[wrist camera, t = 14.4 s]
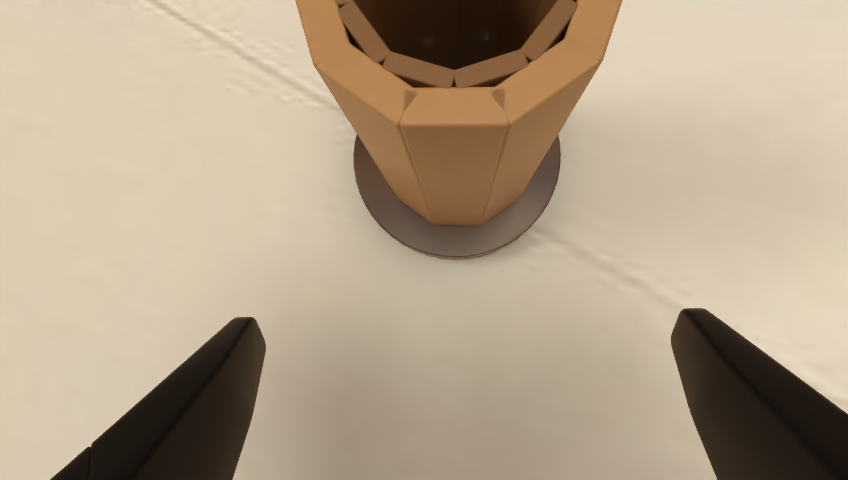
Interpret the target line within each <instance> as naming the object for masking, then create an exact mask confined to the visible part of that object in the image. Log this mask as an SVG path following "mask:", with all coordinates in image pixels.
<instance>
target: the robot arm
mask: <svg viewBox="0 0 848 480" xmlns="http://www.w3.org/2000/svg"><path fill="white" fill-rule="evenodd" d="M671 346H672V349H673V353H674V357H675V360H676V364H677V367H678V371H679V374H680V378H681V381H682V385H683V389H684V392H685V396H686V399H687V403H688V406H689V409H690V412H691V415H692V418H693V421H694V423H695V426H696V428H697V431H698V433H699V436H700V438H701V441H702V443H703V446H704V448H705V450H706V453H707V455H708V458H709V460H710V463H711V465H712V468H713V470H714V472H715V475H716V477H717V480H848V414H847V413H846V412H844V411H843V410H842V409H840V408H839V407H837V406H836V405H835V404H833V403H832V402H831V401H829V400H828V399H827V398H825V397H824V396H823V395H821V394H820V393H819V392H817V391H816V390H814V389H813V388H812V387H810V386H809V385H808V384H806V383H805V382H804V381H802V380H801V379H800V378H798V377H797V376H796V375H794V374H793V373H791V372H790V371H789V370H787V369H786V368H785V367H783V366H782V365H781V364H779V363H778V362H777V361H775V360H774V359H773V358H771V357H770V356H768V355H767V354H766V353H764V352H763V351H762V350H760V349H759V348H758V347H756V346H755V345H754V344H752V343H751V342H750V341H748V340H747V339H746V338H744V337H743V336H741V335H740V334H739V333H737V332H736V331H735V330H733V329H732V328H731V327H729V326H728V325H727V324H725V323H724V322H723V321H721V320H720V319H718V318H717V317H716V316H714V315H713V314H712V313H710V312H709V311H707V310H706V309H702V308H687V309H683V310H682V311H681V312H680V314H679V316H678V319H677V321H676V324H675V327H674V329H673V332H672V335H671ZM265 351H266V344H265V340H264V338H263V335H262V333H261V330H260V328H259V326H258V323H257V321H256V320H255V319H254V318H253V317H237V318H234V319H233V320H231V321H230V322H229V323H228V324H227V325H226V326H224V327H223V328H222V329H221V330H220V331H219V332H218V333H217V334H215V335H214V336H213V337H212V338H211V339H210V340H209V341H207V342H206V343H205V344H204V345H203V346H202V347H201V348H200V349H198V350H197V351H196V352H195V353H194V354H193V355H192V356H190V357H189V358H188V359H187V360H186V361H185V362H184V363H183V364H181V365H180V366H179V367H178V368H177V369H176V370H175V371H173V372H172V373H171V374H170V375H169V376H168V377H167V378H166V379H164V380H163V381H162V382H161V383H160V384H159V385H158V386H156V387H155V388H154V389H153V390H152V391H151V392H150V393H149V394H147V395H146V396H145V397H144V398H143V399H142V400H141V401H139V402H138V403H137V404H136V405H135V406H134V407H133V408H132V409H130V410H129V411H128V412H127V413H126V414H125V415H124V416H122V417H121V418H120V419H119V420H118V421H117V422H116V423H115V424H113V425H112V426H111V427H110V428H109V429H108V430H107V431H105V432H104V433H103V434H102V435H101V436H100V437H99V438H98V439H96V440H95V441H94V442H93V443H92V445H91V447H87V448H86V449H85V450H84V451H83V452H82V453H80V454H79V455H78V456H77V457H76V458H75V459H74V460H72V461H71V462H70V463H69V464H68V465H67V466H65V467H64V468H63V469H62V470H61V471H60V472H58V473H57V474H56V475H55V476H54V477H53V478H51V479H50V480H232V479H233V476H234V473H235V470H236V467H237V464H238V460H239V457H240V454H241V451H242V448H243V445H244V442H245V438H246V435H247V432H248V429H249V426H250V422H251V419H252V415H253V411H254V407H255V402H256V397H257V392H258V387H259V382H260V377H261V372H262V367H263V362H264V357H265Z"/></svg>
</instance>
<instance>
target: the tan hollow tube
mask: <svg viewBox="0 0 848 480" xmlns="http://www.w3.org/2000/svg"><path fill="white" fill-rule="evenodd" d="M295 1H296V4H297V8H298V12H299V15H300V19H301V22H302V26H303V29H304V33H305V36H306V40H307V43H308V47H309V51H310V54H311V58H312V61H313V65H314V66H315V68H316V69H317V71H318V73H319V74H320V76H321V77H322V79H323V80H324V82H325V84H326V85H327V87H328V88H329V90H330V92H331V93H332V95H333V96H334V98H335V100H336V101H337V103H338V104H339V106H340V107H341V109H342V111H343V112H344V114H345V115H346V117H347V119H348V120H349V122H350V123H351V125H352V127H353V128H354V130H355V131H356V133H357V134H358V136H359V138H360V139H361V141H362V142H363V144H364V146H365V147H366V149H367V150H368V152H369V154H370V155H371V157H372V158H373V160H374V162H375V163H376V165H377V166H378V168H379V169H380V171H381V173H382V174H383V176H384V177H385V179H386V181H387V182H388V184H389V185H390V187H391V189H392V190H393V192H394V193H395V195H396V196H397V198H398V199H399V200H400V201H402V202H403V203H404V204H406V205H407V206H408V207H410V208H411V209H412V210H414V211H415V212H416V213H418V214H419V215H420V216H422V217H423V218H424V219H426V220H427V221H429V222H430V223H431V224H433V225H453V226H479V225H483V224H484V223H485V222H487V221H488V220H490V219H491V218H493V217H494V216H495V215H497V214H498V213H500V212H501V211H503V210H504V209H505V208H507V207H508V206H510V205H511V204H513V203H514V202H516V201H517V200H518V199H519V198H520V196H521V194H522V193H523V191H524V189H525V188H526V186H527V184H528V183H529V181H530V179H531V178H532V176H533V175H534V173H535V171H536V170H537V168H538V166H539V165H540V163H541V161H542V160H543V158H544V156H545V155H546V153H547V151H548V150H549V148H550V146H551V145H552V143H553V141H554V140H555V138H556V137H557V135H558V133H559V132H560V130H561V128H562V127H563V125H564V123H565V122H566V120H567V118H568V117H569V115H570V113H571V112H572V110H573V108H574V107H575V105H576V103H577V102H578V100H579V99H580V97H581V95H582V94H583V92H584V90H585V89H586V87H587V85H588V84H589V82H590V80H591V79H592V77H593V75H594V74H595V72H596V70H597V69H598V67H599V65H600V64H601V62H602V61H603V58H604V55H605V52H606V49H607V46H608V43H609V40H610V37H611V34H612V30H613V27H614V24H615V21H616V18H617V15H618V12H619V9H620V6H621V3H622V0H295Z"/></svg>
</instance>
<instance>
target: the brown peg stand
mask: <svg viewBox="0 0 848 480" xmlns="http://www.w3.org/2000/svg"><path fill="white" fill-rule="evenodd" d="M560 156H561V153H560V141H559V137H558V135H557V137H556V138H555V140H554V141H553V143H552V145H551V146H550V148H549V150H548V151H547V153H546V155H545V156H544V158H543V160H542V161H541V163H540V165H539V166H538V168H537V170H536V171H535V173H534V175H533V176H532V178H531V179H530V181H529V183H528V184H527V186H526V188H525V189H524V191H523V193H522V194H521V196H520V198H519V199H518V200H517V201H516V202H514V203H513V204H511V205H510V206H508V207H507V208H505V209H504V210H503V211H501V212H500V213H498V214H497V215H495V216H494V217H493V218H491V219H490V220H488V221H487V222H485V223H484V224H483V225H479V226H453V225H433V224H431V223H430V222H429V221H427V220H426V219H424V218H423V217H422V216H420V215H419V214H418V213H416V212H415V211H414V210H412V209H411V208H410V207H408V206H407V205H406V204H404V203H403V202H402V201H400V200H399V199H398V198H397V196H396V195H395V193H394V192H393V190H392V189H391V187H390V185H389V184H388V182H387V181H386V179H385V177H384V176H383V174H382V173H381V171H380V169H379V168H378V166H377V165H376V163H375V162H374V160H373V158H372V157H371V155H370V154H369V152H368V150H367V149H366V147H365V146H364V144H363V142H362V141H361V139H360V138H359V136H358V134H357V136H356V140H355V147H354V171H355V177H356V182H357V185H358V189H359V192H360V194H361V197H362V199H363V201H364V203H365V205H366V207H367V208H368V210H369V212H370V213H371V215H372V216H373V217H374V219H375V220H376V221H377V222H378V223H379V225H380V226H381V227H382V228H383V229H384V230H386V231H387V232H388V233H389V234H390V235H391V236H392V237H393V238H395V239H396V240H398V241H399V242H400V243H402V244H403V245H405V246H407V247H409V248H411V249H413V250H415V251H417V252H420V253H423V254H425V255H428V256H433V257H437V258H444V259H468V258H474V257H479V256H483V255H486V254H489V253H492V252H495V251H497V250H499V249H501V248H503V247H505V246H507V245H508V244H510V243H512V242H513V241H515V240H516V239H517V238H519V237H520V236H521V235H522V234H523V233H524V232H526V231H527V230H528V229H529V228H530V227H531V226H532V225H533V223H534V222H535V221H536V220H537V219H538V218H539V217H540V215H541V214H542V212H543V211H544V209H545V208H546V206H547V205H548V203H549V201H550V199H551V197H552V195H553V192H554V189H555V186H556V183H557V180H558V175H559V170H560Z"/></svg>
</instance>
